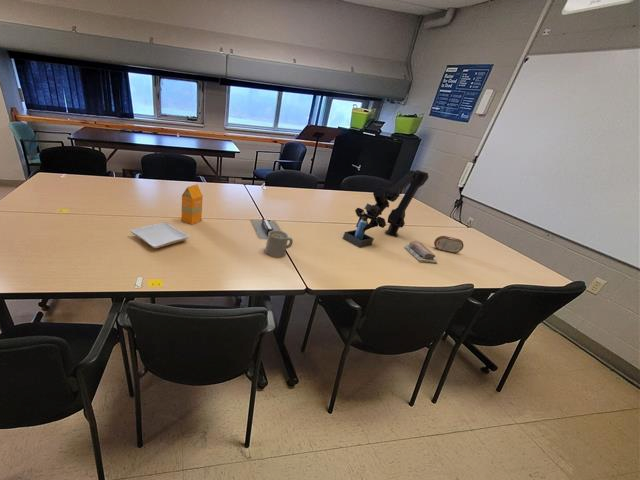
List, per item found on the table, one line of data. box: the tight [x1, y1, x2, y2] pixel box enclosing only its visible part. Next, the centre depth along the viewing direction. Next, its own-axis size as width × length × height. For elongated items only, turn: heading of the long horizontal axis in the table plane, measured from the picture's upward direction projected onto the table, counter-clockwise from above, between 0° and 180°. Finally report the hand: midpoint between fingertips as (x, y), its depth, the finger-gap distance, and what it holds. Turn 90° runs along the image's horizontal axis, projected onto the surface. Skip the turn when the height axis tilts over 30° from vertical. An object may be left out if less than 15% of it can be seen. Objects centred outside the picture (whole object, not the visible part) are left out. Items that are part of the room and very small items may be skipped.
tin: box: [433, 235, 465, 254], centre depth 185 cm, size 15×3×8 cm, turn 71°
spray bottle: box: [354, 216, 369, 240], centre depth 180 cm, size 5×5×14 cm
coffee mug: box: [264, 230, 294, 258], centre depth 157 cm, size 13×10×10 cm
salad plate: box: [129, 222, 190, 249], centre depth 156 cm, size 21×21×3 cm
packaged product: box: [404, 240, 438, 264], centre depth 176 cm, size 18×5×10 cm
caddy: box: [342, 229, 374, 248], centre depth 183 cm, size 11×13×4 cm
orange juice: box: [181, 184, 204, 225], centre depth 177 cm, size 8×9×20 cm
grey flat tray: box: [251, 219, 281, 239], centre depth 182 cm, size 14×25×4 cm, turn 9°
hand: (360, 228), depth 179 cm, fingers closed on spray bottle, 5 cm apart
